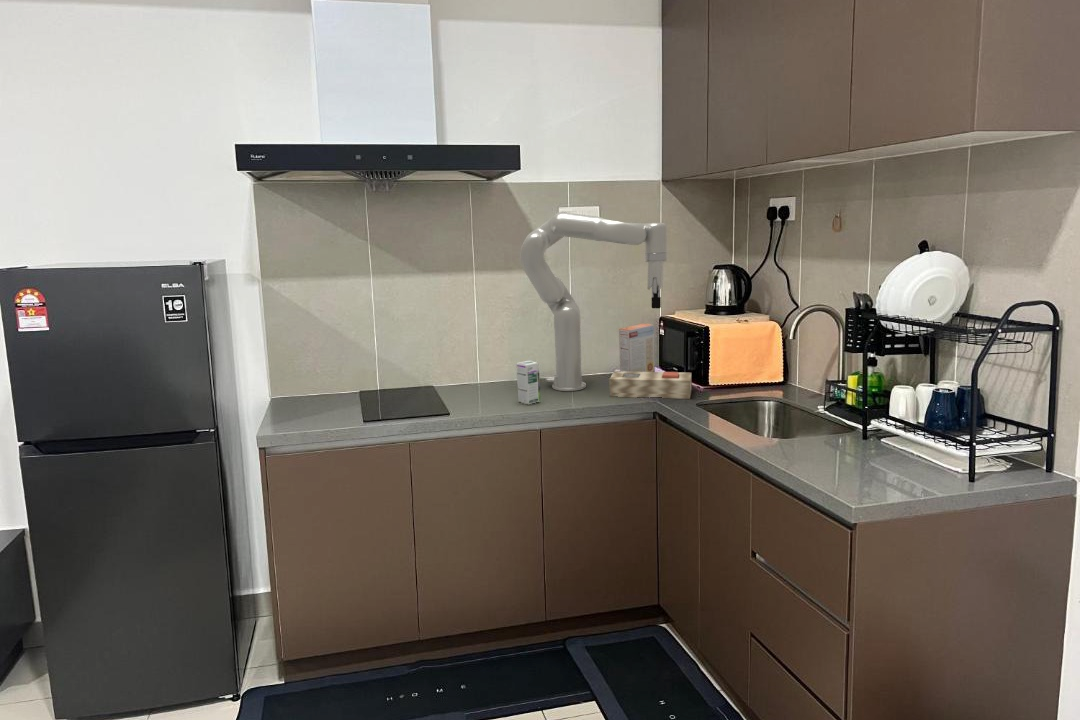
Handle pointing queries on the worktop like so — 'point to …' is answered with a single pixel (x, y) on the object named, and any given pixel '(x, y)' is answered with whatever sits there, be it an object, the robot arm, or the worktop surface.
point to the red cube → (671, 375)
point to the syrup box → (528, 381)
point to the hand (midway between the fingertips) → (656, 307)
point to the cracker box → (637, 348)
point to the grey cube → (631, 375)
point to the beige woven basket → (650, 385)
